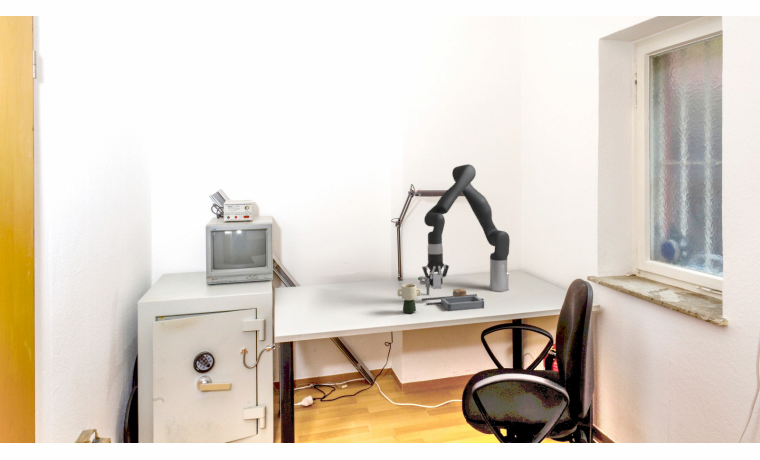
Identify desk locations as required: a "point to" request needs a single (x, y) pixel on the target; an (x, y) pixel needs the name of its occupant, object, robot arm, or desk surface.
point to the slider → (459, 292)
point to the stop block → (436, 281)
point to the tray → (462, 303)
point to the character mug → (409, 297)
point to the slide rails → (440, 298)
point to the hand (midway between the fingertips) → (435, 285)
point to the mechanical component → (425, 282)
